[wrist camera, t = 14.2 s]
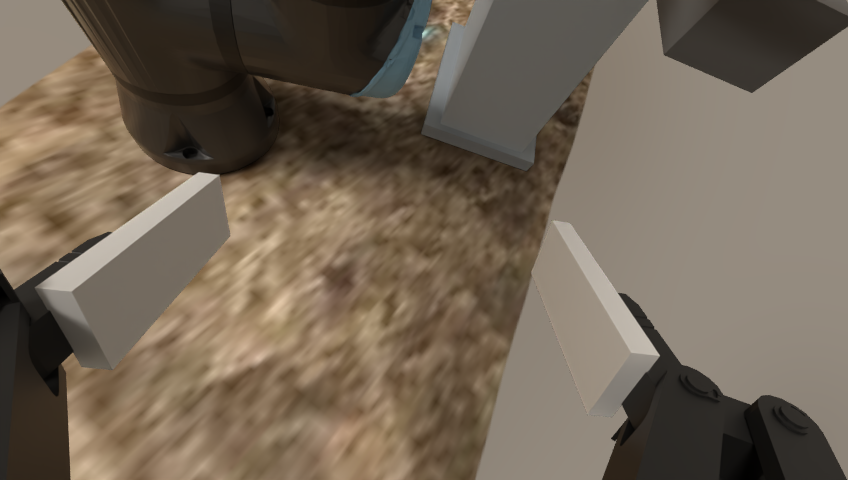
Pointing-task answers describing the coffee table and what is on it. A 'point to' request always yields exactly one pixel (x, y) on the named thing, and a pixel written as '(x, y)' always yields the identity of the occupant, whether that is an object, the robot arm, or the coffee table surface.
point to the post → (517, 71)
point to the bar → (747, 35)
